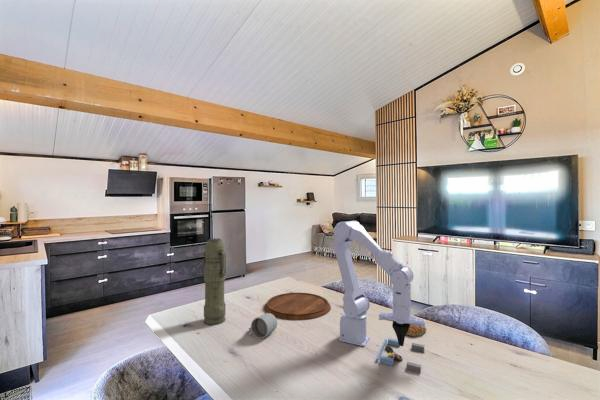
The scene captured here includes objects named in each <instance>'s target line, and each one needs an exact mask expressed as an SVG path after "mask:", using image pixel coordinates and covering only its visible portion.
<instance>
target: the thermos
mask: <svg viewBox="0 0 600 400" xmlns="http://www.w3.org/2000/svg"><path fill="white" fill-rule="evenodd" d="M203 260H204V261H203V281H204V306H203V318H204V321H203V324H205V325H207V326H218V325H221V324H223V323H224V322H225V321H226V311H227V310H226V306H227V305H226V302H225V281H226V272H227V254H226V252H225V245H224V242H223V240H222V239H221V238H209V239H208V240H206V244H205V250H204V252H203Z"/></svg>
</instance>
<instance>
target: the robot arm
mask: <svg viewBox="0 0 600 400" xmlns="http://www.w3.org/2000/svg"><path fill="white" fill-rule="evenodd" d="M332 230H333V234H334V237H333V249H334V254H335V256H336V260H337V264H338V268H339V271H340V272H339V273H340V275H341V280H342V284H343V286H344V291H345V292H344V294H343V295H342V302H343V304H342V306H343V307H342V309H343V313H342V314H341V316H340V318H339V319H340V320H339V339H338V341H340V342H343V343H346V344H347V343H348V344H351V345H357V346H360V347H366V344H367V343H368V341H369V340H370V335H367V312H368V311H369V309H370V306H371V305H370V300H369V299H368V297H367V296H366V293H365V291H364V289H362V288H361V287H360V284H359V280H358V278H357V273H356V269H355V266H354V263H353V258H352V255H351V251H350V245H351V243H352V242H353V241H355V242H357V241H358V242H359V243H360V244H361V245H362V246H363V247H364V248H366V249H367V251H369V252H370V253H371V254H372V255H373V256H374V257H375V263H377V265H378V266H380V268H381V269H382V270H383V271H384V272H385V273H386V274H387V275H388V276H389V281H390V282H391V284H392V312H382V311H380V312H379V313H378V320H379V321H388V322H392V325H391V326H392V328H393V331H394V332H395V335H396V339H397V340H398V344H399V346H400V347H404V344H405V340H406V339H405V338H406V335H407V332H408V330H409V327H410V325H414V326H419V327H421V328H425V327H426V320H425V319H420V318H418V317H414V316H412V312H411V310H412V307H411V306H412V305H411V304H412V303H411V302H412V289H411V288H412V284H411V283H412V282H413V280H414V272H413V271H412V270H411V267H409V266H407V265H404V263H402V262H400V261H399V260H398V259H397V258H396V257H395V256H394V253H393V252H392V251H389V250H386V249H382V247H381V246H379V244H378V242H376V241H375V240H374V239H373V238H372V236H370V235H369V233H368V231H366V229H365V227H364V226H363V225H362V224H360V222H359V221H357V220H350V221H349V220H348V221H339V222H338V223H336V225H335V226H334V228H333V229H332ZM399 346H398V347H399Z"/></svg>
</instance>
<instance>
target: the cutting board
mask: <svg viewBox="0 0 600 400" xmlns="http://www.w3.org/2000/svg"><path fill="white" fill-rule="evenodd" d="M331 307H332V306H331V303H330V302H328V300H327V299H326V298H325V297H324V296H320V295H318V294H315V293H309V292H286V293H281V294H277V295H274V296H272V297H270V298H269V299H267V301H266V303H265V305H264V311H265V312H266V313H271V314H273V315H274V316H275V317H276V319H281V320H285V321H287V320H288V321H308V320H314V319H318V318H321V317H324V316H326V315H328V314H329V312H331Z"/></svg>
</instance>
